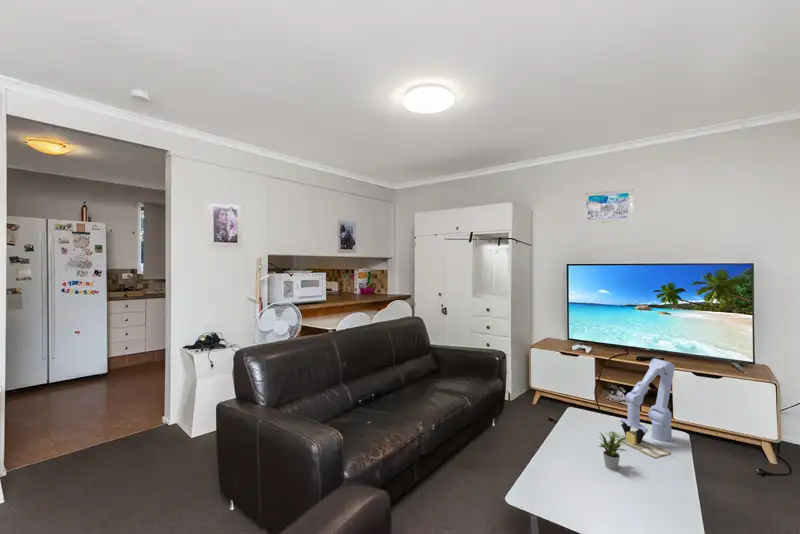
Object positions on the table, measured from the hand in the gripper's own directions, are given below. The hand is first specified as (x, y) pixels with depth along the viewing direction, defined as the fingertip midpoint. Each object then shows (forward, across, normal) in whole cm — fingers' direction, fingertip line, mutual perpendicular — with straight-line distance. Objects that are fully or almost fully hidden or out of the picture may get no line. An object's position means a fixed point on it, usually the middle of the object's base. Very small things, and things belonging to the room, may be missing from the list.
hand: (633, 440), depth 210 cm
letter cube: (+1, 0, 0) cm, 1 cm away
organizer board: (+2, +1, 0) cm, 2 cm away
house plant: (+2, +14, -32) cm, 35 cm away
